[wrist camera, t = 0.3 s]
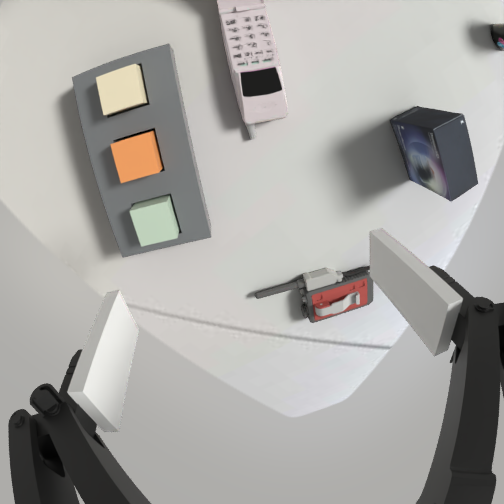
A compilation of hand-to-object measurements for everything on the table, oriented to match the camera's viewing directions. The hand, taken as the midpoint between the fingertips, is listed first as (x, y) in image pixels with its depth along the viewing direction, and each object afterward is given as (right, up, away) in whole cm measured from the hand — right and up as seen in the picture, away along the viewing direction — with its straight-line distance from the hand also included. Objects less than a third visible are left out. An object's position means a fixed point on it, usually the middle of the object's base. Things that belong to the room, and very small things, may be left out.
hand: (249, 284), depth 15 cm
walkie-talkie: (+11, -5, +34) cm, 36 cm away
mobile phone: (-1, +27, +16) cm, 32 cm away
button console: (-13, +14, +20) cm, 28 cm away
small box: (+25, +18, +24) cm, 39 cm away
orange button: (-13, +14, +19) cm, 27 cm away
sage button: (-12, +7, +23) cm, 26 cm away
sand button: (-14, +21, +15) cm, 29 cm away
